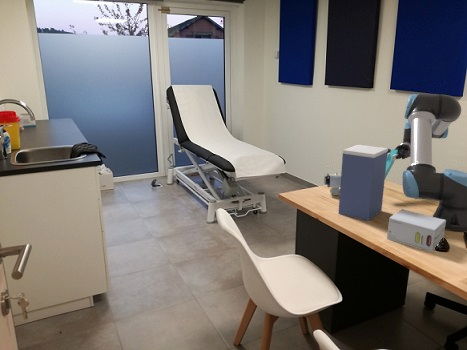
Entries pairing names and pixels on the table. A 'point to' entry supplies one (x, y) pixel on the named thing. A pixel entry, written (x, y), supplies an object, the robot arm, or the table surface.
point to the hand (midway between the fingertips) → (389, 158)
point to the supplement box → (416, 229)
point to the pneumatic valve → (333, 183)
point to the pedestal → (362, 181)
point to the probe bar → (390, 161)
